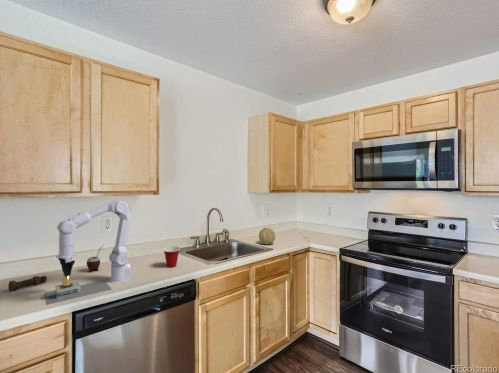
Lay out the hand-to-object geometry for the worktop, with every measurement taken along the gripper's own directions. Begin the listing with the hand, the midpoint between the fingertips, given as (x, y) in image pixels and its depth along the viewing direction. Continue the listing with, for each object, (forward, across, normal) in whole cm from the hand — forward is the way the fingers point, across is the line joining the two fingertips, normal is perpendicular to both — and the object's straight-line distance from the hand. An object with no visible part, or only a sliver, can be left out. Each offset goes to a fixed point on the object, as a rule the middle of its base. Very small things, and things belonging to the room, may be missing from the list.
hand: (66, 273), depth 124 cm
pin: (+10, 0, 0) cm, 10 cm away
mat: (+10, 0, +5) cm, 11 cm away
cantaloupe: (+11, -14, +149) cm, 150 cm away
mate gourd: (+10, -31, +17) cm, 37 cm away
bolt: (+11, -24, -14) cm, 30 cm away
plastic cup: (+10, -9, +57) cm, 59 cm away
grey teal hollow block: (+10, 0, -1) cm, 10 cm away
